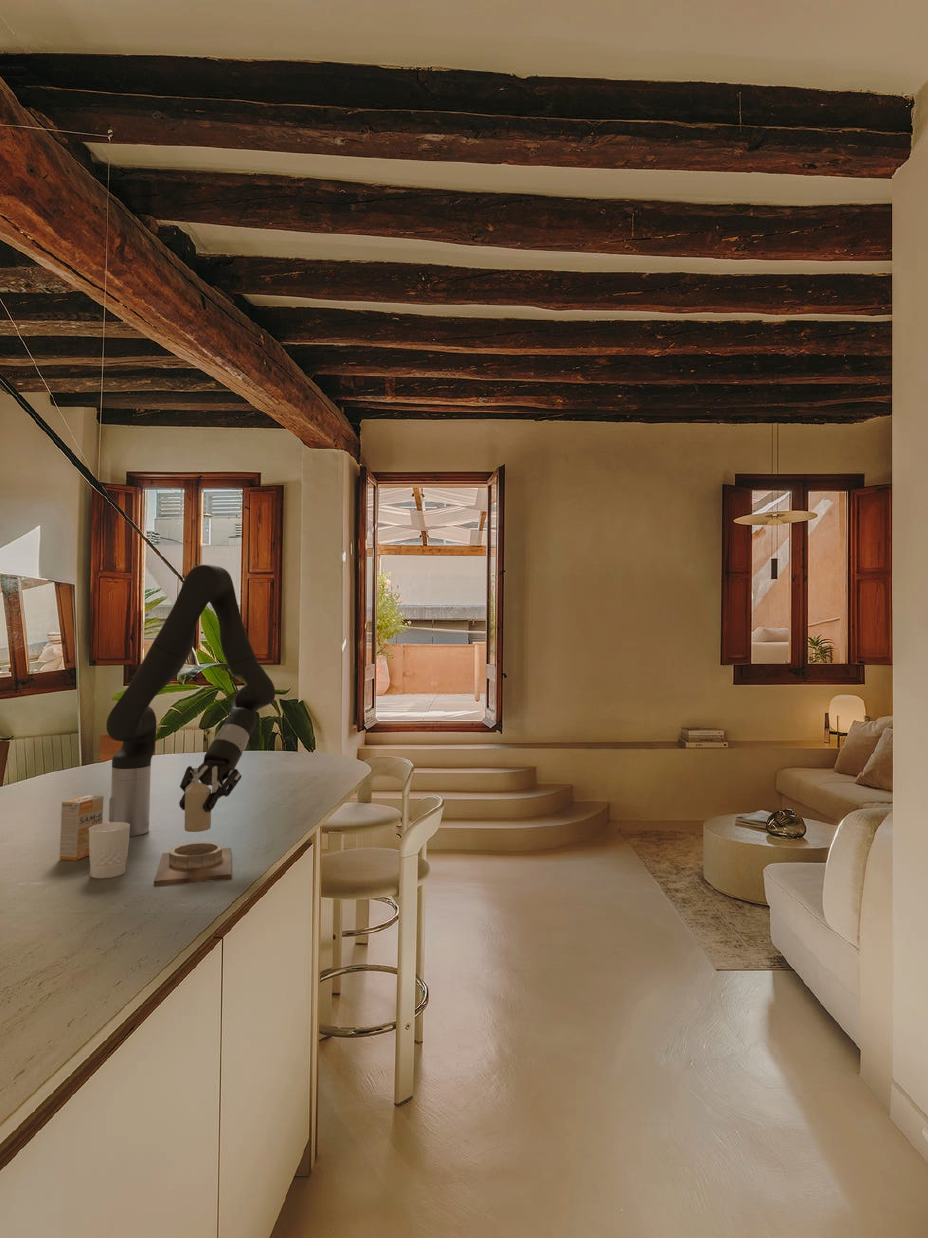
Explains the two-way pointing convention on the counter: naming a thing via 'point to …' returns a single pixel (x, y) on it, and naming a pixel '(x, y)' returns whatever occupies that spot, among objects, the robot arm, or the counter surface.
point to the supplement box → (79, 825)
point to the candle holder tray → (194, 864)
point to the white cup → (108, 849)
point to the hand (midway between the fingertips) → (194, 809)
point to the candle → (197, 808)
